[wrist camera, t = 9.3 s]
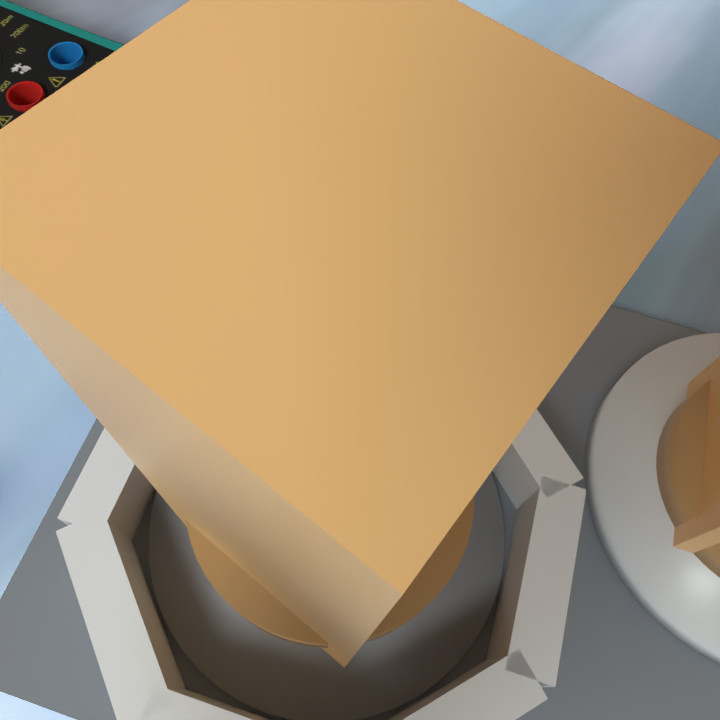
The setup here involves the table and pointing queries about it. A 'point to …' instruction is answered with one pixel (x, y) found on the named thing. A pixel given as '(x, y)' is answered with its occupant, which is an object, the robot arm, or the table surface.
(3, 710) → the table surface
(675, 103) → the table surface
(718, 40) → the table surface
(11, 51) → the digital multimeter
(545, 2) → the table surface
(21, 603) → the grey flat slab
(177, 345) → the tan pillar on disc
